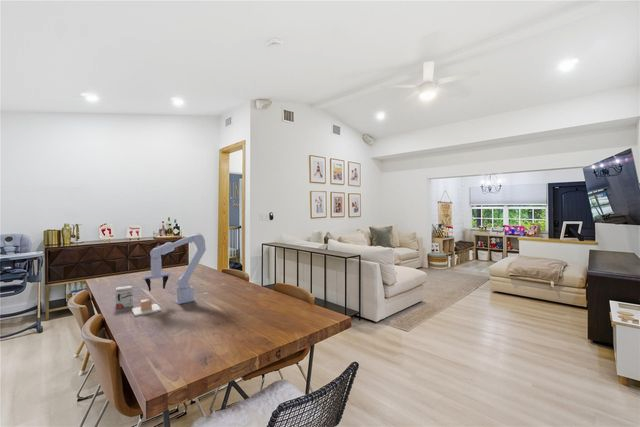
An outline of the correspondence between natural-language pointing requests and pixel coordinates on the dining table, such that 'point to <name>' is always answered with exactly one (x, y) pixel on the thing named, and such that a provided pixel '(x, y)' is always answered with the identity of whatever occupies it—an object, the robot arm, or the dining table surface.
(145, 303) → the cube
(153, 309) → the mat
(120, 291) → the ink box
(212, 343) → the dining table surface
